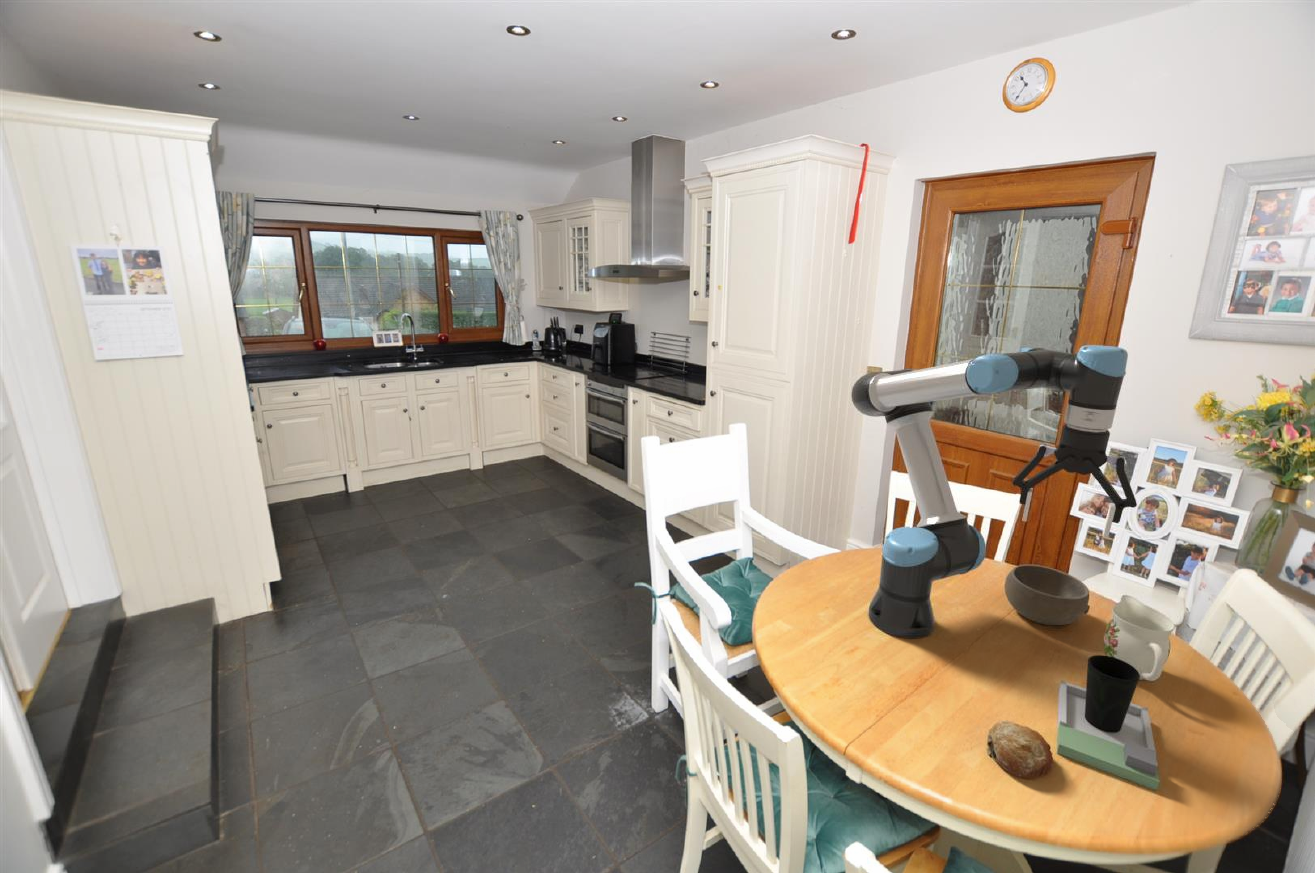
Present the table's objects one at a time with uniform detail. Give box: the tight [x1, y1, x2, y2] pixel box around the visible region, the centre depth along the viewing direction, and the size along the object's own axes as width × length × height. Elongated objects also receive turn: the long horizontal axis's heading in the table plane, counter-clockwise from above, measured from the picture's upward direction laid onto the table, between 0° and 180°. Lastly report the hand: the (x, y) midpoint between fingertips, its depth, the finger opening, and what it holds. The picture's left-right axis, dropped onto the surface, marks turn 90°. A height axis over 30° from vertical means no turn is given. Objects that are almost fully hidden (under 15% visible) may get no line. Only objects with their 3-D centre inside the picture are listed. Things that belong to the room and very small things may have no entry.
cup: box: [1085, 654, 1140, 733], centre depth 109 cm, size 8×8×12 cm
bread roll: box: [986, 720, 1054, 780], centre depth 103 cm, size 10×10×8 cm
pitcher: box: [1103, 594, 1176, 682], centre depth 124 cm, size 11×18×14 cm, turn 163°
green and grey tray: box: [1056, 680, 1161, 792], centre depth 108 cm, size 14×20×4 cm
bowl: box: [1004, 564, 1091, 626], centre depth 146 cm, size 17×18×10 cm
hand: (1063, 527), depth 118 cm, fingers open, 13 cm apart
